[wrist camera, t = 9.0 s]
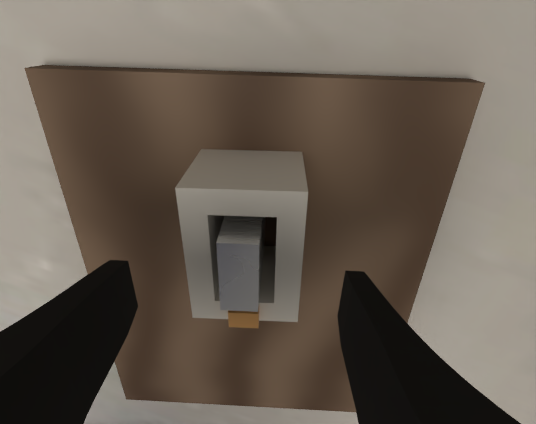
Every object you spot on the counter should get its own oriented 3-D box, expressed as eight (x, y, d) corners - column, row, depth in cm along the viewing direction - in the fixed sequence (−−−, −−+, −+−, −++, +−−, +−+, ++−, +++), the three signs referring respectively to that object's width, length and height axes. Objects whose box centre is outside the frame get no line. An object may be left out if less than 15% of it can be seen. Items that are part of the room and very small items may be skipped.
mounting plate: (133, 383, 25) (126, 399, 24) (43, 64, 14) (24, 67, 13) (373, 396, 24) (377, 413, 23) (469, 78, 14) (485, 83, 13)
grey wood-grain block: (237, 235, 17) (220, 310, 12) (235, 180, 15) (216, 242, 11) (265, 236, 17) (258, 311, 12) (266, 181, 15) (259, 244, 11)
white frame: (201, 149, 14) (170, 194, 11) (302, 151, 14) (309, 198, 10) (210, 259, 17) (189, 327, 13) (294, 262, 17) (298, 332, 13)
